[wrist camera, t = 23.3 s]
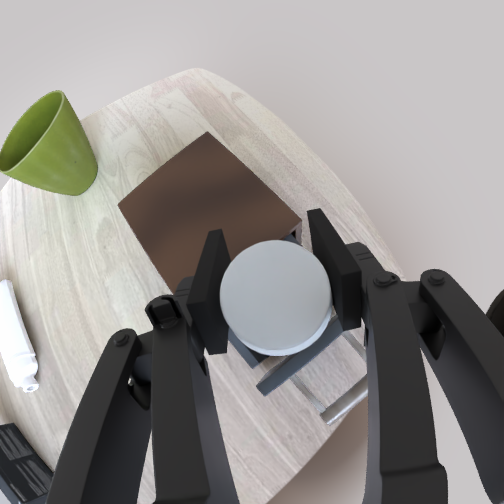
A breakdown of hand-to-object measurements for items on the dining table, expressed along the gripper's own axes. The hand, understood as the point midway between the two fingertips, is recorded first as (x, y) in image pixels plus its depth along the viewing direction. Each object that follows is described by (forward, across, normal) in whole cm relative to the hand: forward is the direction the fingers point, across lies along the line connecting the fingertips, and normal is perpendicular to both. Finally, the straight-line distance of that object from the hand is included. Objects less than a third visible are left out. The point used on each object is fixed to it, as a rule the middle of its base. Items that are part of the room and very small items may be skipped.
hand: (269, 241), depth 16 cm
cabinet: (+17, -6, -7) cm, 20 cm away
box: (-7, -51, -32) cm, 60 cm away
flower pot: (+30, -30, +6) cm, 43 cm away
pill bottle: (0, 0, -5) cm, 5 cm away
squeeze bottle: (+11, -47, -14) cm, 50 cm away
